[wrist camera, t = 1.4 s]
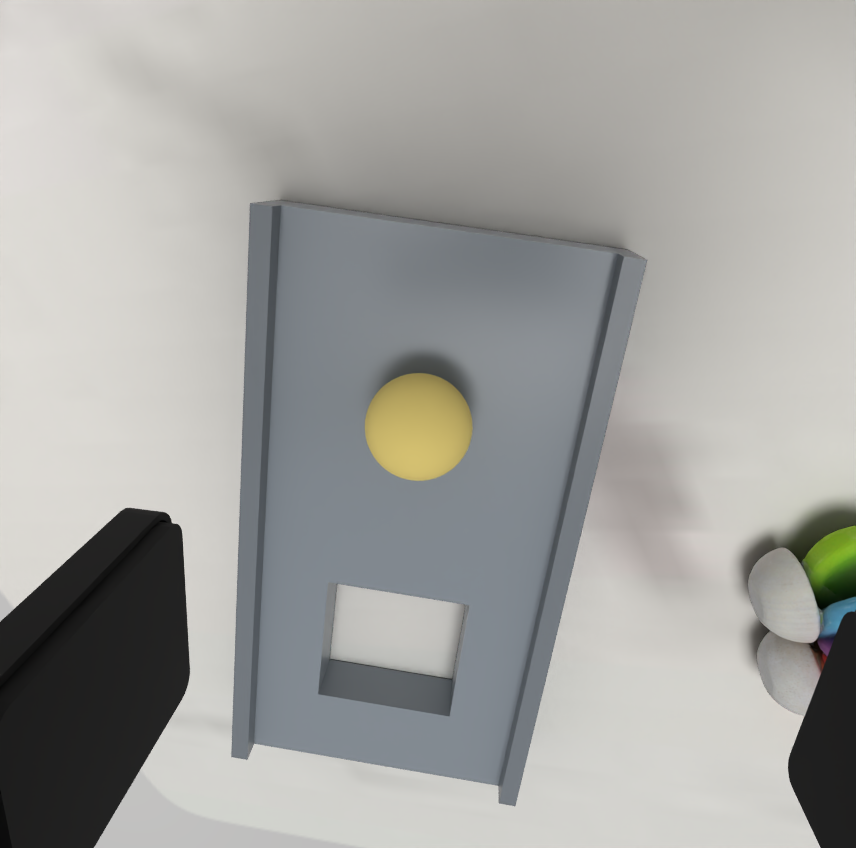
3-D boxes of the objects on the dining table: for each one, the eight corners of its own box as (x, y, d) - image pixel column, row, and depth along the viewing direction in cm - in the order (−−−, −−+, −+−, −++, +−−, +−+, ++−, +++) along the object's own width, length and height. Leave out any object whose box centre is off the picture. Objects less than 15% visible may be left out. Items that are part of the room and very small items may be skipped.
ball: (379, 353, 26) (361, 383, 22) (481, 369, 26) (479, 401, 22) (369, 447, 28) (350, 490, 24) (465, 462, 27) (461, 507, 24)
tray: (279, 199, 27) (250, 203, 24) (627, 249, 26) (647, 259, 23) (254, 704, 36) (231, 756, 33) (512, 748, 36) (515, 806, 32)
